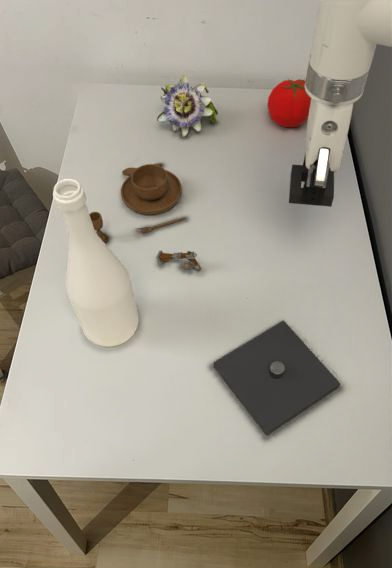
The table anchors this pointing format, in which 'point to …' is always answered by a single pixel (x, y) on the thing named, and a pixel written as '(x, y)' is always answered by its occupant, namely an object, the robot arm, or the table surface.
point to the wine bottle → (94, 274)
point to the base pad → (276, 391)
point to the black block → (300, 175)
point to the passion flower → (186, 106)
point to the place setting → (145, 194)
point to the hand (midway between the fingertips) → (311, 185)
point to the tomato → (289, 103)
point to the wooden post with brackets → (180, 258)
